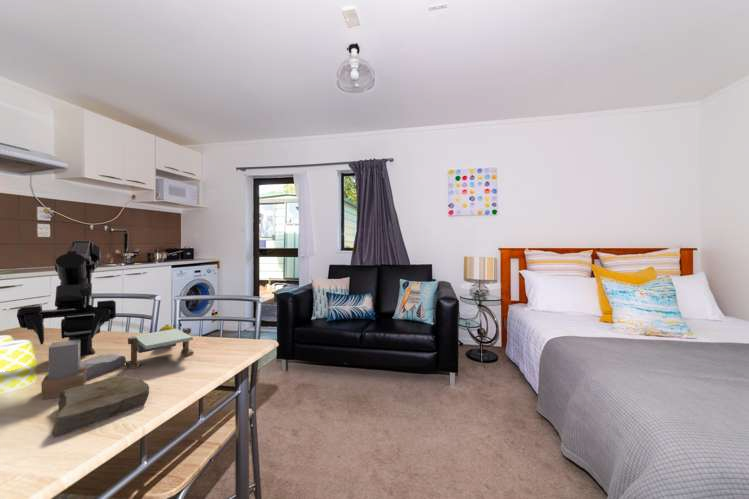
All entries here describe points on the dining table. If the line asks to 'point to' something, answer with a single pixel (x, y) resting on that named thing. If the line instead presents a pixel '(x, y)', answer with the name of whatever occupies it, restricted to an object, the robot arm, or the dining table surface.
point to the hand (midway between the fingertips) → (67, 340)
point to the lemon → (166, 328)
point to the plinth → (62, 384)
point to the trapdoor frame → (133, 342)
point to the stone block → (102, 364)
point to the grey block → (64, 359)
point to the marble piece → (98, 402)
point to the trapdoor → (160, 340)
